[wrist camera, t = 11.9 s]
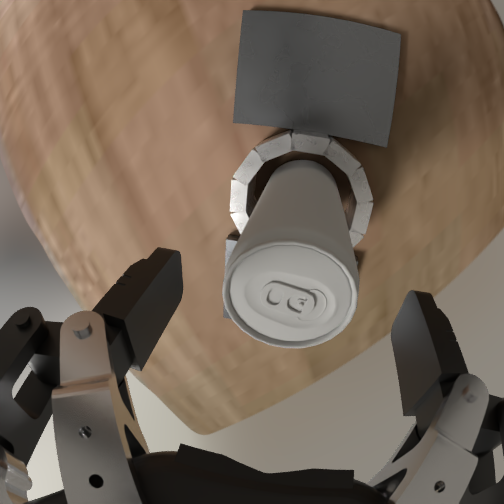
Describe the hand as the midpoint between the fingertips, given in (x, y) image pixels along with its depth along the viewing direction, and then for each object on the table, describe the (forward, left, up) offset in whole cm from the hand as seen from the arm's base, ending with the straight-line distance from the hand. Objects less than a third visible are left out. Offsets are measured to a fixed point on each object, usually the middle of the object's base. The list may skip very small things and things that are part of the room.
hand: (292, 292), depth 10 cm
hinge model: (0, 0, -12) cm, 12 cm away
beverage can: (0, 0, -12) cm, 12 cm away
